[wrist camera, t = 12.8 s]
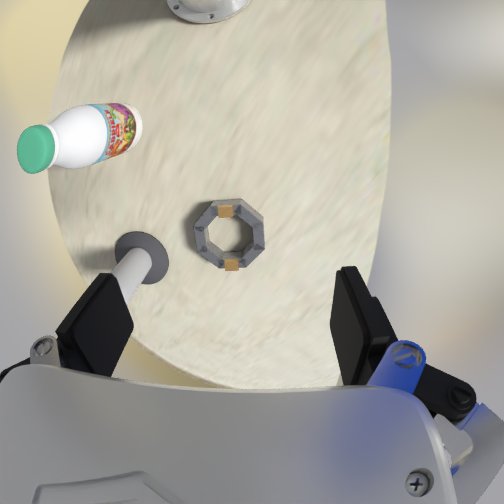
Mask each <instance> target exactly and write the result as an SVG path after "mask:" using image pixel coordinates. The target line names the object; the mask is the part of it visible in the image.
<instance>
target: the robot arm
mask: <svg viewBox="0 0 504 504" xmlns="http://www.w3.org/2000/svg"><path fill="white" fill-rule="evenodd" d="M250 2H251V0H167V3H168V6H169V7H170V9H171V10H172V11H173V12H174V13H175V14H176V15H177V16H179V17H180V18H182V19H184V20H187V21H189V22H194V23H214V22H219V21H223V20H225V19H228V18H231V17H233V16H234V15H236V14H238V13H240V12H241V11H242V10H243V9H245V8H246V7H247V6H248V4H249V3H250ZM177 8H179V9H177ZM211 17H214V18H212V19H210V18H211ZM133 328H134V324H133V320H132V318H131V315H130V313H129V310H128V308H127V305H126V302H125V300H124V297H123V294H122V291H121V288H120V286H119V283H118V280H117V278H116V277H115V276H114V275H113V274H112V273H100V274H99V275H98V276H97V277H96V278H95V280H94V281H93V282H92V283H91V285H90V286H89V287H88V288H87V290H86V291H85V292H84V293H83V295H82V296H81V297H80V299H79V300H78V301H77V302H76V304H75V305H74V306H73V308H72V309H71V310H70V312H69V313H68V314H67V316H66V317H65V319H64V320H63V321H62V323H61V324H60V325H59V327H58V328H57V330H56V331H55V332H56V334H57V335H58V338H57V339H56V338H55V337H53V336H50V335H49V336H48V335H47V336H43V337H41V338H39V339H38V340H36V341H35V342H34V344H33V345H32V347H31V349H30V357H29V358H27V359H25V360H24V361H21V362H19V363H17V364H15V365H13V366H11V367H9V368H7V369H5V370H3V371H2V372H1V374H0V504H475V503H476V502H477V501H478V499H479V498H480V497H481V496H482V494H483V493H484V492H485V490H486V489H487V488H488V486H489V485H490V483H491V482H492V480H493V479H494V478H495V476H496V475H497V473H498V472H499V470H500V469H501V467H502V465H503V464H504V421H503V420H501V419H500V418H499V417H498V416H497V415H496V414H495V413H494V412H492V411H491V410H490V409H489V408H488V407H487V406H486V405H485V404H483V403H482V404H481V405H479V404H478V403H477V402H476V394H475V391H474V389H473V388H472V387H471V386H470V385H469V384H468V383H466V382H464V381H462V380H460V379H458V378H456V377H453V376H451V375H449V374H447V373H445V372H443V371H441V370H438V369H436V368H434V367H432V366H430V365H428V364H426V355H425V352H424V351H423V349H422V348H421V347H420V346H419V345H418V344H416V343H414V342H411V341H407V340H400V341H398V339H397V337H396V335H395V333H394V330H393V328H392V326H391V324H390V322H389V320H388V318H387V316H386V314H385V312H384V310H383V308H382V306H381V304H380V302H379V300H378V298H377V297H371V295H370V293H369V291H368V289H367V287H366V285H365V283H364V281H363V279H362V277H361V275H360V273H359V271H358V269H357V267H356V266H346V267H342V268H341V270H338V271H337V272H336V280H335V288H334V296H333V304H332V311H331V318H330V330H331V334H332V338H333V342H334V346H335V350H336V354H337V358H338V363H339V367H340V371H341V376H342V380H343V384H344V386H327V387H312V388H291V389H217V388H216V389H215V388H198V387H184V386H172V385H163V384H154V383H146V382H139V381H132V380H125V379H119V378H112V377H111V376H112V373H113V371H114V369H115V367H116V365H117V362H118V360H119V358H120V356H121V354H122V351H123V350H124V347H125V345H126V343H127V341H128V339H129V337H130V335H131V333H132V331H133ZM443 443H444V444H445V446H444V445H443ZM444 448H445V449H446V450H447V451H448V452H449V454H450V455H451V459H452V464H451V468H450V466H449V462H448V459H447V455H446V452H445V449H444ZM409 474H410V475H409Z"/></svg>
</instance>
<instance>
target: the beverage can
mask: <svg viewBox="0 0 504 504" xmlns="http://www.w3.org/2000/svg"><path fill="white" fill-rule="evenodd" d="M151 266H152V261H151V257H150V255H149V254H148V252H146V251H145V250H144V249H142V248H133V249H131V250H130V251H129V252H128V253H127V254H126V255H125V256H124V258H123V259H122V260H121V261H120V262H119V263H118V264H117V265H116V267H115V268H114V269H113V270H112V271H111V273H112V274H113V275H114V276H115V277H116V278H117V280H118V283H119V286H120V288H121V291H122V294H123V297H124V300H125V302H126V305H128V304H129V302H130V300H131V299H132V297H133V295H134V294H135V292H136V291H137V289H138V287H139V286H140V284H141V283H142V281H143V279H144V278H145V276H146V275H147V273H148V272H149V270H150V268H151Z"/></svg>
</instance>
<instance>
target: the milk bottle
mask: <svg viewBox="0 0 504 504" xmlns="http://www.w3.org/2000/svg"><path fill="white" fill-rule="evenodd" d="M142 129H143V124H142V119H141V116H140V114H139V112H138V111H137V110H136V109H135V108H134V107H133V106H131V105H128V104H121V103H110V104H89V105H81V106H76V107H73V108H70V109H68V110H66V111H64V112H63V113H61V114H60V115H59V116H58V117H57V118H56V119H55V120H53V121H52V122H51V123H50V124H41V125H35V126H31V127H29V128H27V129H25V130H24V131H23V133H22V134H21V136H20V138H19V141H18V145H17V156H18V161H19V163H20V165H21V167H22V168H23V170H24V171H26V172H27V173H31V174H34V173H38V172H41V171H43V170H45V169H48V168H49V167H51V166H52V165H58V166H61V167H64V168H69V169H78V168H83V167H87V166H90V165H93V164H95V163H98V162H101V161H103V160H106V159H109V158H111V157H114V156H116V155H119V154H122V153H124V152H127V151H129V150H131V149H132V148H133V147H134V146H135V145H136V144H137V143H138V141H139V139H140V137H141V134H142Z"/></svg>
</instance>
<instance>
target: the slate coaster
mask: <svg viewBox="0 0 504 504" xmlns="http://www.w3.org/2000/svg"><path fill="white" fill-rule="evenodd" d="M133 248H142V249H144V250H145V251H146V252H148V254H149V255H150V257H151V261H152V266H151V268H150V270H149V272H148V273H147V275H146V276H145V278H144V279H143V281H142V283H141V284H154V283H157V282H158V281H160V280H161V279H162V278H163V277H164V276H165V274H166V272H167V270H168V266H169V260H168V255H167V252H166V250H165V248H164V247H163V245H162V244H161V243H160V242H159V241H158V240H157V239H156V238H155V237H153V236H151V235H149V234H147V233H144V232H130V233H128V234H126V235H124V236H123V237H122V238H121V239H120V240H119V241H118V243H117V245H116V249H115V257H116V261H117V264H118V263H119V262H120V261H121V260H122V259H123V258H124V256H125V255H126V254H127V253H128V252H129V251H130V250H131V249H133Z"/></svg>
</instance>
